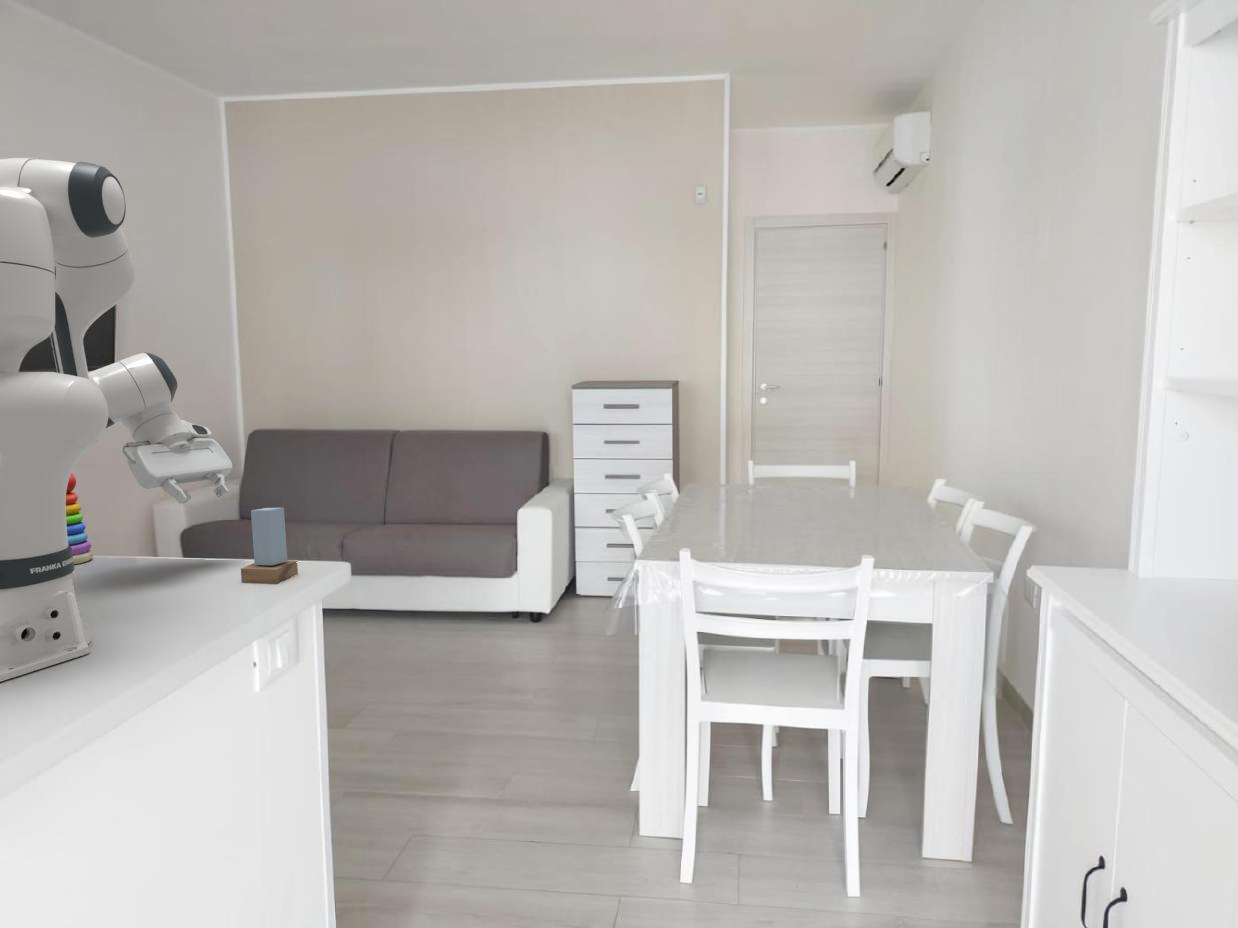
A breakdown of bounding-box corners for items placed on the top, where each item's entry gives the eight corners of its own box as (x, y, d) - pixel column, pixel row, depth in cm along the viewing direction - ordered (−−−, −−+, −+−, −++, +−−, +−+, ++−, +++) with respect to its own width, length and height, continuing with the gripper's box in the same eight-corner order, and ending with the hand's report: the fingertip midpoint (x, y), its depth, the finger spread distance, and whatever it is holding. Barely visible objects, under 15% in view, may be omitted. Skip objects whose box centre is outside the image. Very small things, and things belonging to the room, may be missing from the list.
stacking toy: (49, 559, 179) (41, 468, 177) (95, 555, 183) (87, 465, 180) (43, 568, 172) (34, 473, 170) (91, 564, 176) (82, 470, 173)
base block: (277, 586, 159) (276, 569, 159) (241, 584, 160) (240, 568, 160) (298, 576, 166) (297, 560, 165) (263, 575, 167) (262, 559, 167)
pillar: (272, 565, 160) (268, 510, 160) (254, 564, 162) (250, 510, 161) (287, 561, 164) (283, 507, 163) (269, 561, 165) (266, 507, 165)
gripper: (128, 432, 155) (171, 494, 153) (214, 427, 175) (253, 482, 173) (107, 454, 157) (150, 516, 155) (195, 447, 176) (234, 501, 175)
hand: (205, 498), depth 164 cm, fingers open, 8 cm apart
